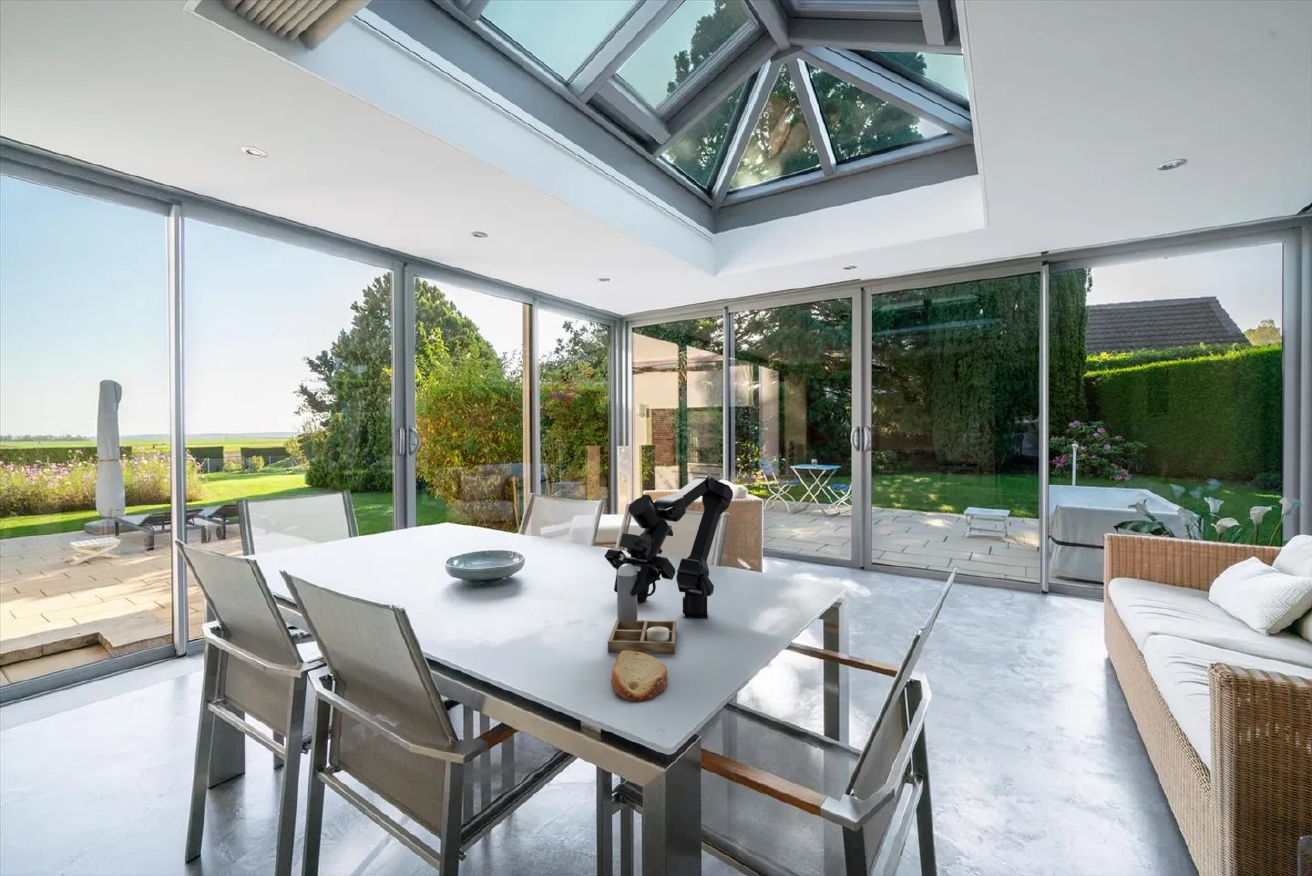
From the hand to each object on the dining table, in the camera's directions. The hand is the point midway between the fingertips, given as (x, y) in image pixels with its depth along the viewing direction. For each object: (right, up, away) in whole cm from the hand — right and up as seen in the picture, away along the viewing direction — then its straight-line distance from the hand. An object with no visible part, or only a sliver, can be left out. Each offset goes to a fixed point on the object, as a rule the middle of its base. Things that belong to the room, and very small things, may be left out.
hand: (623, 593), depth 135 cm
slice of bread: (+3, -14, -16) cm, 22 cm away
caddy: (+5, -13, +5) cm, 15 cm away
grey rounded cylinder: (+1, -7, +1) cm, 7 cm away
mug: (+3, -13, +38) cm, 40 cm away
